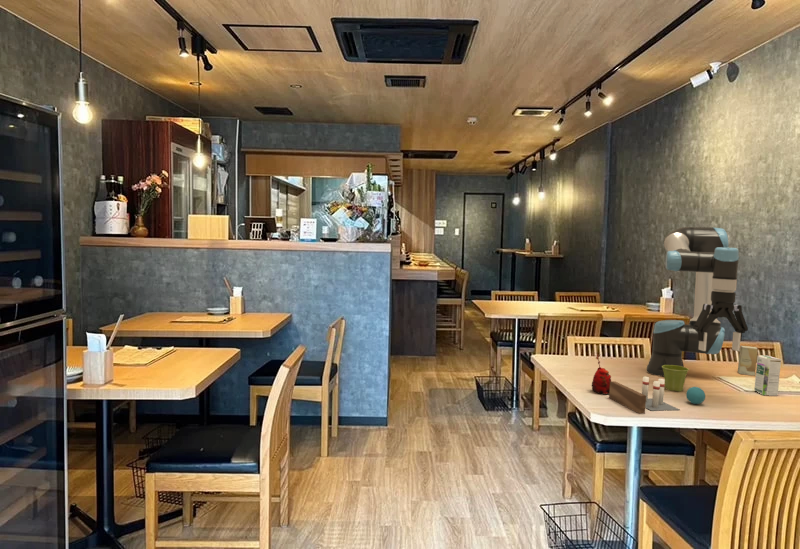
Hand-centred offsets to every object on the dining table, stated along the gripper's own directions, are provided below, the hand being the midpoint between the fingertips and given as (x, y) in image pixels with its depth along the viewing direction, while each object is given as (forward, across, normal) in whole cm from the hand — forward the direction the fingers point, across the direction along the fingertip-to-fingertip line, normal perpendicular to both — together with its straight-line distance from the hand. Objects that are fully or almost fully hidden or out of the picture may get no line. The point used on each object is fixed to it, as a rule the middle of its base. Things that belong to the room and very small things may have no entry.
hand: (718, 350), depth 199 cm
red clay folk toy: (+19, +36, -15) cm, 43 cm away
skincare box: (+19, -49, -40) cm, 66 cm away
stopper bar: (+19, +35, +1) cm, 40 cm away
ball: (+16, +8, 0) cm, 18 cm away
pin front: (+19, +22, +1) cm, 29 cm away
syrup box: (+19, -30, -10) cm, 37 cm away
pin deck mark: (+19, +25, +1) cm, 31 cm away
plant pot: (+19, +4, -18) cm, 26 cm away
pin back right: (+19, +26, -2) cm, 33 cm away
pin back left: (+19, +26, +4) cm, 33 cm away
